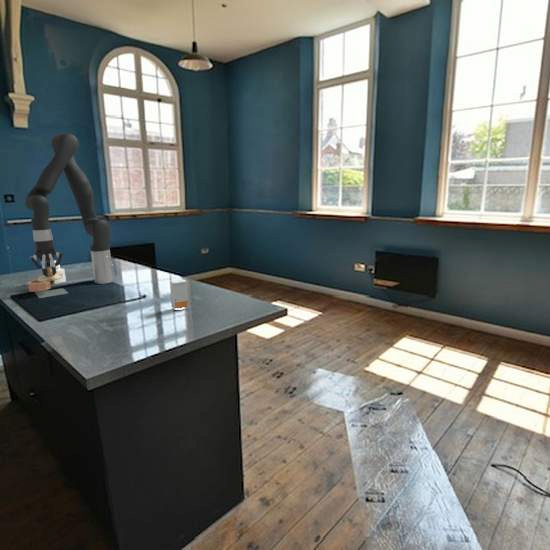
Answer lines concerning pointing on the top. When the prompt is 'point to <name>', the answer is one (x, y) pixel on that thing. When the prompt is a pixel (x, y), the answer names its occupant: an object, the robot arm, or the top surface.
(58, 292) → the mat
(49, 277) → the lid
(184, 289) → the skincare box
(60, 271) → the medicine bottle
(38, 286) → the bowl
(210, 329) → the top surface
